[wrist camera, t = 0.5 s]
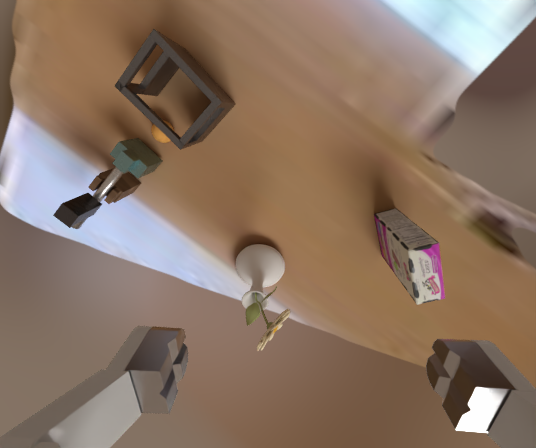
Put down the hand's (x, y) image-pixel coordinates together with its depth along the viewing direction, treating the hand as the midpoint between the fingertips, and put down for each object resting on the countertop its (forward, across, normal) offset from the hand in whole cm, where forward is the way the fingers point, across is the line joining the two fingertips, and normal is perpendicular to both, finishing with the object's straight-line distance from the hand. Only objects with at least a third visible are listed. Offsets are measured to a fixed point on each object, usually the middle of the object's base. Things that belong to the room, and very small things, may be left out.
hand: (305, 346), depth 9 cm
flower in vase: (+46, +5, +25) cm, 53 cm away
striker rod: (+45, +34, +7) cm, 57 cm away
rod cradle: (+46, +33, +6) cm, 57 cm away
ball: (+44, +23, -4) cm, 50 cm away
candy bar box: (+46, -23, +17) cm, 54 cm away
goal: (+46, +17, -9) cm, 50 cm away
